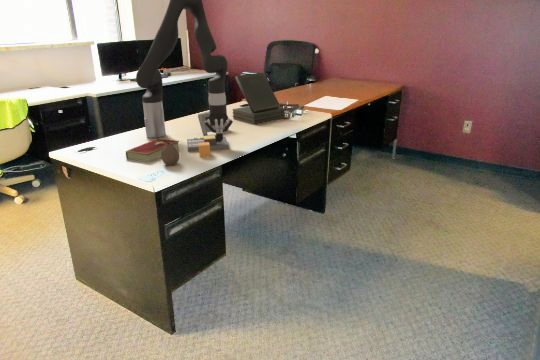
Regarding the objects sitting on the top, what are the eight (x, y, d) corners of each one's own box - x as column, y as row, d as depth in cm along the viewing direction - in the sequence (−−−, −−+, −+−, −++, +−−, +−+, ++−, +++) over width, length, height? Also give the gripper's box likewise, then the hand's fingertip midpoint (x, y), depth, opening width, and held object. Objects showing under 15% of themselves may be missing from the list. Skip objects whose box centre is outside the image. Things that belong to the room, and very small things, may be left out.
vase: (181, 161, 172) (179, 140, 169) (178, 166, 166) (176, 145, 163) (164, 161, 172) (161, 141, 169) (160, 167, 166) (158, 146, 162)
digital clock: (202, 136, 208) (201, 115, 204) (195, 132, 215) (194, 112, 211) (231, 131, 216) (230, 111, 212) (224, 128, 223) (223, 108, 219)
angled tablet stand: (253, 125, 228) (252, 79, 219) (232, 119, 242) (230, 75, 233) (284, 118, 242) (284, 74, 233) (263, 113, 256) (262, 71, 247)
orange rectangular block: (199, 157, 177) (198, 145, 175) (199, 153, 181) (198, 142, 179) (210, 156, 178) (209, 144, 176) (209, 153, 182) (208, 142, 180)
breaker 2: (215, 141, 191) (214, 135, 190) (215, 144, 186) (215, 137, 185) (203, 142, 190) (203, 135, 189) (204, 145, 185) (204, 138, 184)
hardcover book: (126, 159, 176) (125, 150, 175) (158, 146, 194) (157, 137, 193) (149, 163, 172) (147, 153, 170) (179, 149, 189) (178, 140, 188)
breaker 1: (218, 137, 197) (217, 131, 195) (219, 140, 192) (218, 134, 191) (207, 138, 196) (207, 132, 195) (208, 141, 191) (207, 134, 190)
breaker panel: (187, 151, 184) (187, 146, 183) (187, 143, 197) (186, 137, 196) (228, 148, 187) (228, 143, 186) (225, 140, 200) (225, 135, 199)
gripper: (202, 105, 178) (205, 144, 184) (233, 103, 180) (235, 142, 187) (201, 102, 185) (204, 139, 191) (231, 100, 187) (233, 137, 193)
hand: (219, 141), depth 189 cm, fingers closed
